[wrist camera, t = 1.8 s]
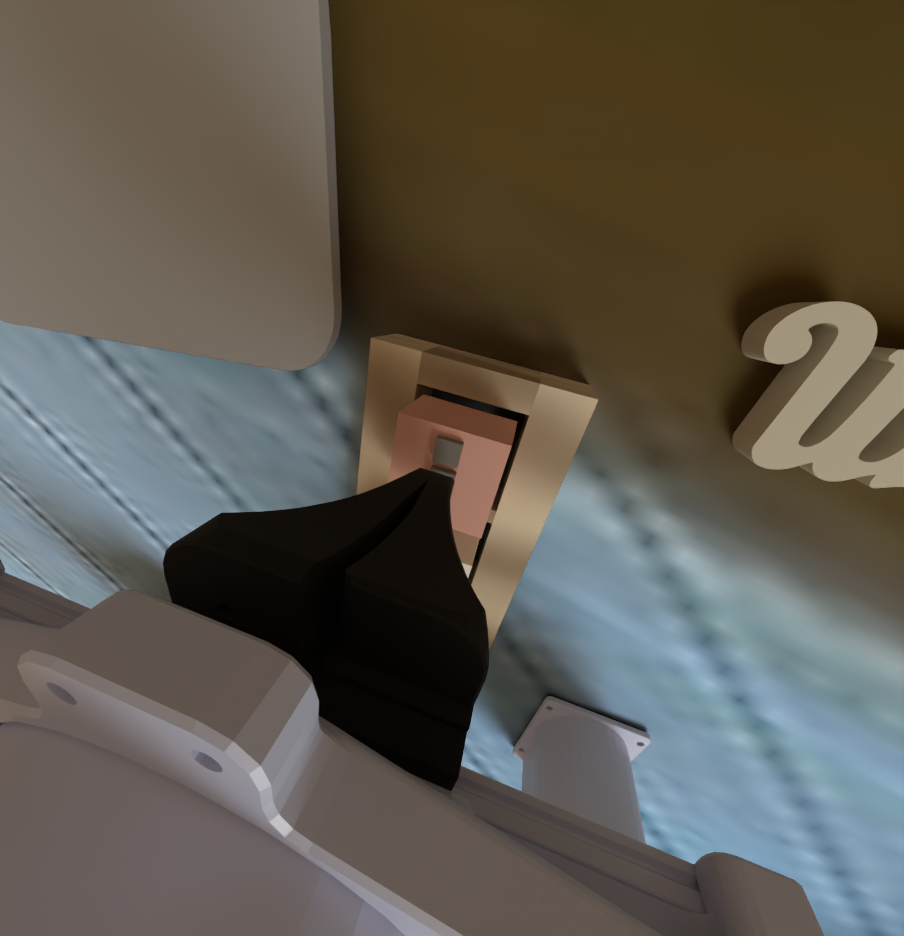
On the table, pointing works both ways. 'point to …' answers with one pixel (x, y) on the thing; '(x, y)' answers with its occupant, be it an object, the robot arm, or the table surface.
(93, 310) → the tablet
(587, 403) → the button board
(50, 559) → the table surface
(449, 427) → the button
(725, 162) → the table surface
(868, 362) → the decorative sign
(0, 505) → the table surface
